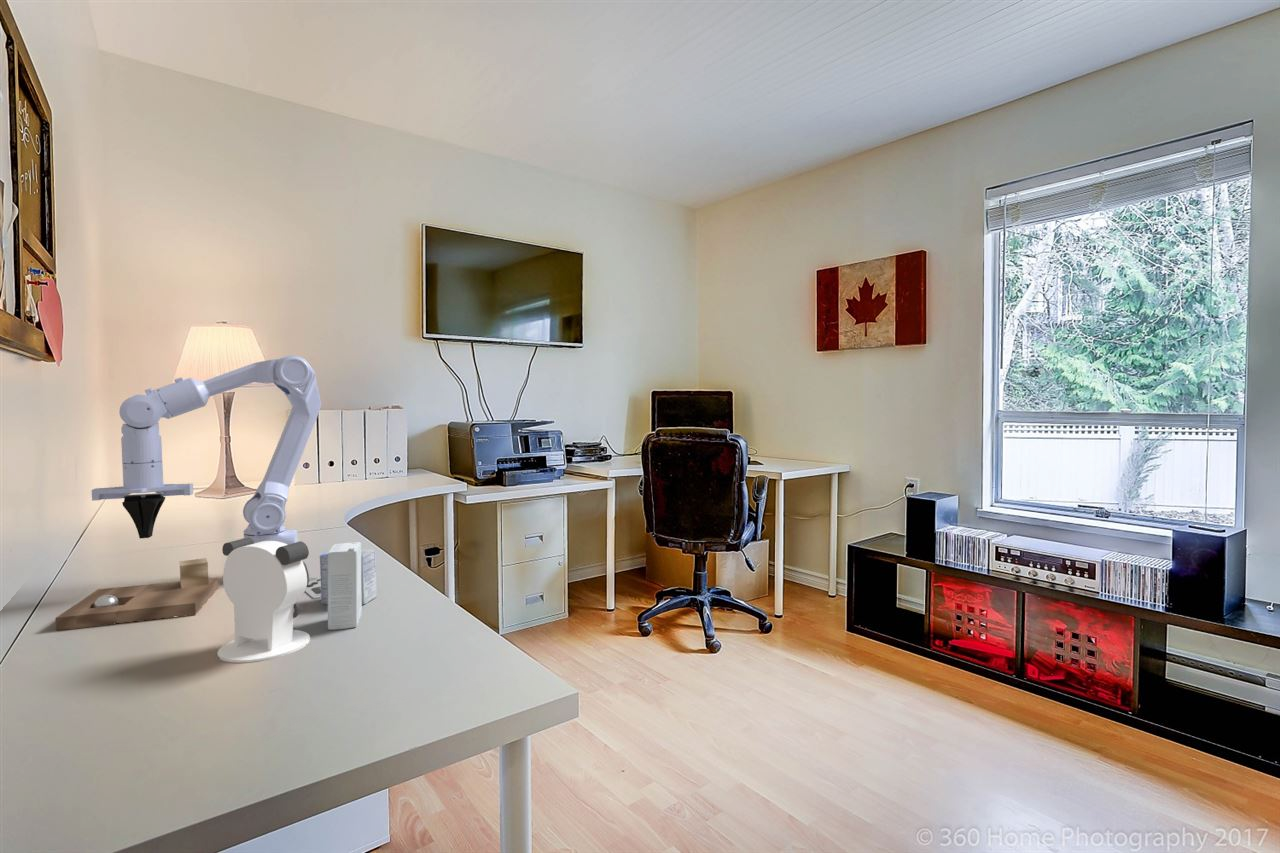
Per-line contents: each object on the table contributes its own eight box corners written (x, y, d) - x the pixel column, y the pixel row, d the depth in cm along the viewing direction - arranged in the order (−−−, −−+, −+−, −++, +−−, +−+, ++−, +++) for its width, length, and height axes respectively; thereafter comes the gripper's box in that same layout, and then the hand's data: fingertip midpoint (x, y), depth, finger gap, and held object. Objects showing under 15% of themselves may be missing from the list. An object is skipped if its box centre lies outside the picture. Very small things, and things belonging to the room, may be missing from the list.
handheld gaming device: (341, 570, 130) (365, 587, 119) (342, 574, 130) (365, 591, 119) (293, 579, 125) (313, 597, 113) (293, 583, 125) (313, 601, 113)
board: (218, 588, 120) (217, 577, 120) (195, 614, 105) (195, 602, 105) (98, 600, 113) (97, 589, 113) (56, 630, 99) (55, 617, 99)
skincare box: (333, 618, 103) (331, 543, 103) (363, 615, 105) (361, 541, 104) (326, 631, 97) (324, 552, 97) (359, 628, 99) (356, 549, 98)
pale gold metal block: (207, 579, 119) (206, 558, 119) (208, 584, 116) (207, 562, 116) (180, 583, 117) (179, 561, 116) (181, 588, 113) (180, 566, 113)
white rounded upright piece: (331, 636, 96) (328, 535, 95) (268, 667, 85) (264, 553, 84) (266, 628, 99) (262, 531, 98) (197, 657, 88) (192, 548, 87)
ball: (111, 617, 107) (127, 601, 108) (100, 620, 104) (117, 604, 105) (95, 605, 107) (111, 589, 108) (84, 608, 104) (101, 592, 105)
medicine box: (377, 597, 114) (376, 549, 114) (364, 605, 110) (362, 555, 109) (335, 596, 115) (333, 548, 114) (320, 604, 110) (318, 554, 110)
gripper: (82, 466, 109) (86, 545, 110) (184, 462, 115) (187, 537, 116) (99, 462, 116) (102, 537, 117) (194, 458, 121) (197, 530, 122)
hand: (145, 537), depth 117 cm, fingers closed
